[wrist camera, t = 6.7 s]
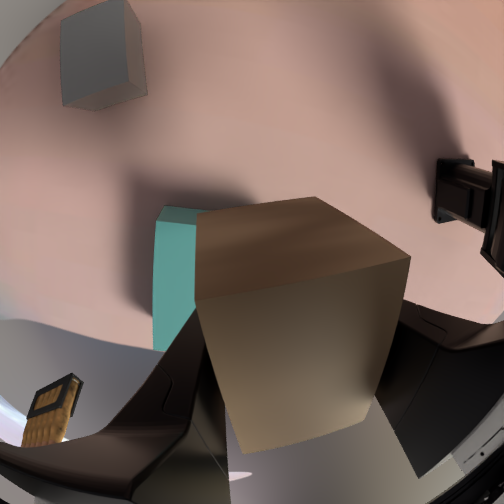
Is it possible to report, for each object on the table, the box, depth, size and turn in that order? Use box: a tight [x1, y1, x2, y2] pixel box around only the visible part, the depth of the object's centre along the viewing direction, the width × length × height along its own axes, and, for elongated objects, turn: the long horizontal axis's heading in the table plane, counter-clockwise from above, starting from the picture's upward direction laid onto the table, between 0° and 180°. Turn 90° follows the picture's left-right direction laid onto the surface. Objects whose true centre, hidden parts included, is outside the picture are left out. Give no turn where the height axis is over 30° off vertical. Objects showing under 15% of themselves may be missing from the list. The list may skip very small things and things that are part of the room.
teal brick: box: [153, 206, 208, 351], centre depth 20 cm, size 8×10×4 cm
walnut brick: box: [194, 197, 411, 454], centre depth 8 cm, size 4×6×5 cm, turn 6°
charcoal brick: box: [60, 0, 148, 111], centre depth 11 cm, size 4×6×5 cm, turn 7°
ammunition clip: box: [21, 373, 84, 447], centre depth 18 cm, size 11×2×12 cm, turn 119°
